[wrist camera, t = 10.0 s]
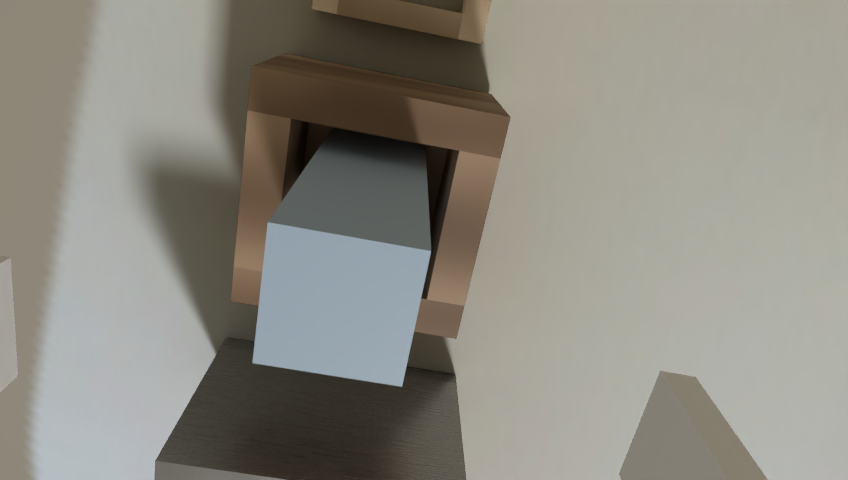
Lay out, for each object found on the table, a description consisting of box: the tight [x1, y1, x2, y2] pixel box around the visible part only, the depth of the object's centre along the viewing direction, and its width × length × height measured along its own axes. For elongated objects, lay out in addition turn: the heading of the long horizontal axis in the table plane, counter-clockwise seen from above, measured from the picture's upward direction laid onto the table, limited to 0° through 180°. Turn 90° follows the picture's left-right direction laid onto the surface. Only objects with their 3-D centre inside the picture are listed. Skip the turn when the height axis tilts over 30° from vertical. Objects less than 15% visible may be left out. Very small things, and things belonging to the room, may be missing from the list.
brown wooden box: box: [231, 54, 510, 339], centre depth 25 cm, size 9×9×6 cm
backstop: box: [155, 338, 466, 480], centre depth 28 cm, size 5×12×9 cm, turn 79°
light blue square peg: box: [252, 128, 431, 387], centre depth 21 cm, size 4×4×12 cm
